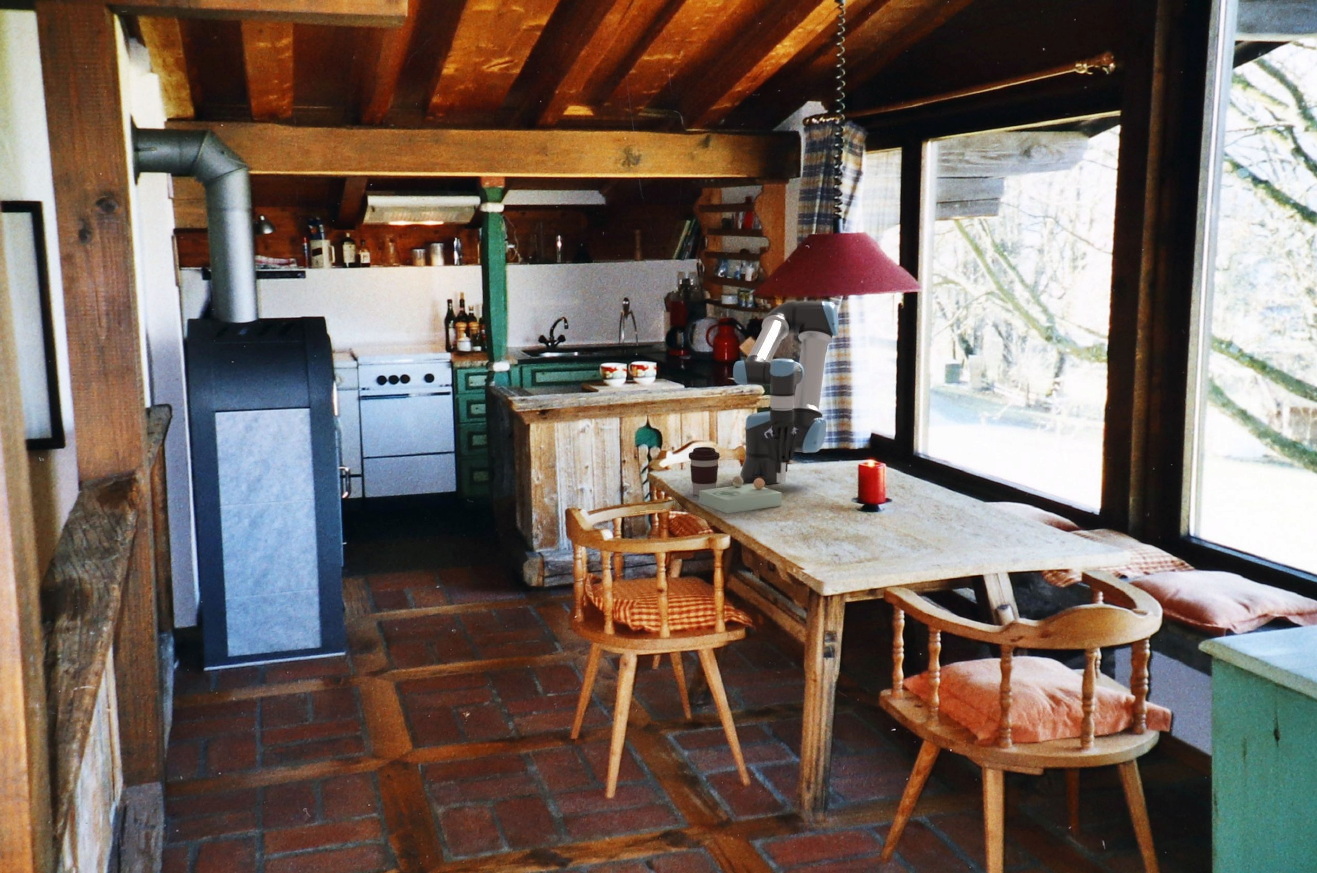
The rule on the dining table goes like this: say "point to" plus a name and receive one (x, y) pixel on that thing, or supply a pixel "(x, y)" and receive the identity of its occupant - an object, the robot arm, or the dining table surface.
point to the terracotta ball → (759, 483)
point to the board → (740, 498)
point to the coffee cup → (703, 468)
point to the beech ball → (737, 481)
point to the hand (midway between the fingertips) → (781, 482)
